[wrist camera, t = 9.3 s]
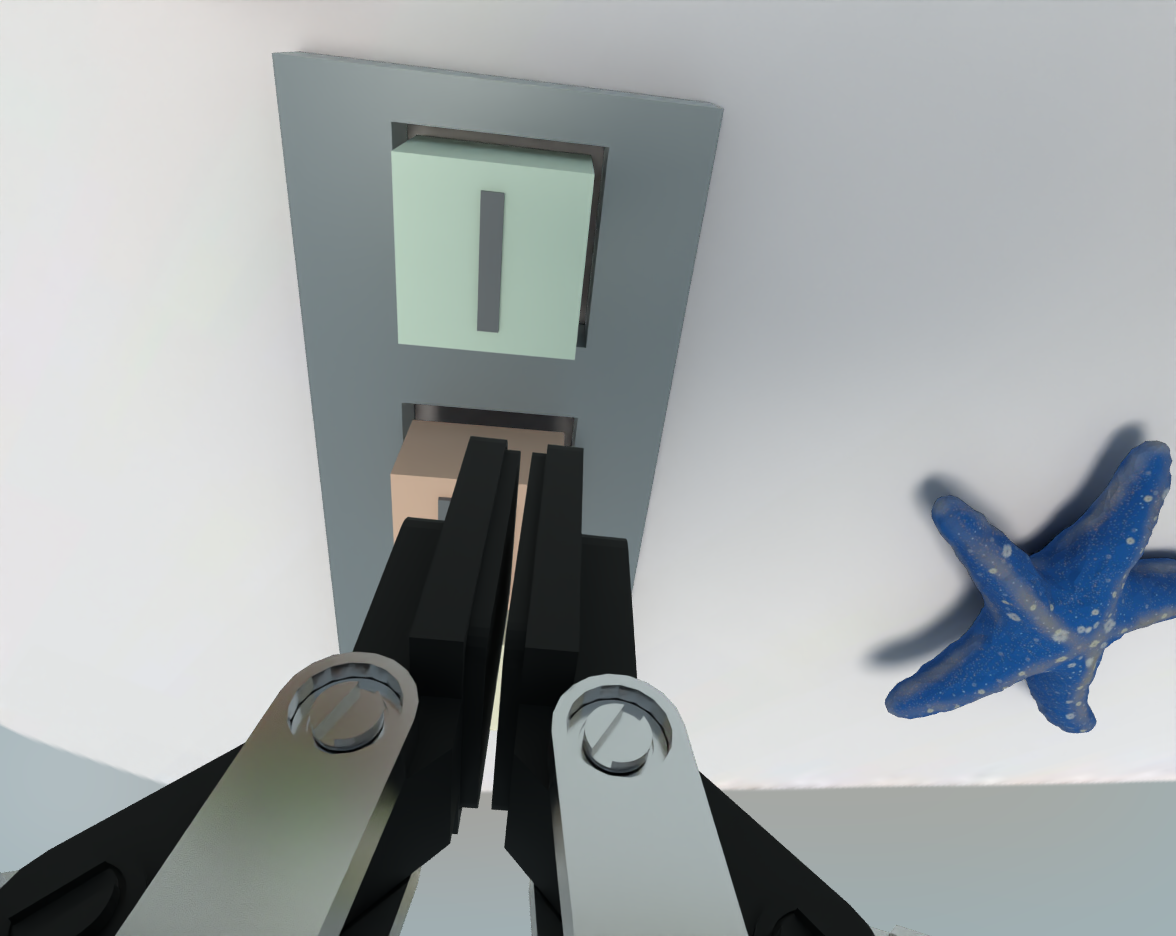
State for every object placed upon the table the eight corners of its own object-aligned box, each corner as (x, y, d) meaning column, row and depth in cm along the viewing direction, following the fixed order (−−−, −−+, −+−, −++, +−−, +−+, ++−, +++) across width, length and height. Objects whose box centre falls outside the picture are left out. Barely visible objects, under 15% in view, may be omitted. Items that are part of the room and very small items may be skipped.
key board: (710, 102, 24) (723, 108, 22) (605, 685, 40) (607, 721, 38) (299, 51, 23) (272, 52, 21) (358, 671, 39) (346, 708, 37)
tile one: (590, 155, 24) (594, 175, 20) (573, 320, 27) (574, 362, 24) (416, 134, 24) (389, 152, 20) (419, 305, 27) (397, 345, 23)
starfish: (1157, 689, 41) (1224, 762, 37) (847, 703, 41) (878, 779, 37) (1320, 410, 31) (1437, 468, 27) (911, 430, 31) (965, 490, 27)
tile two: (564, 432, 28) (563, 490, 24) (552, 549, 31) (549, 616, 27) (412, 419, 27) (388, 477, 24) (416, 539, 30) (395, 606, 27)
